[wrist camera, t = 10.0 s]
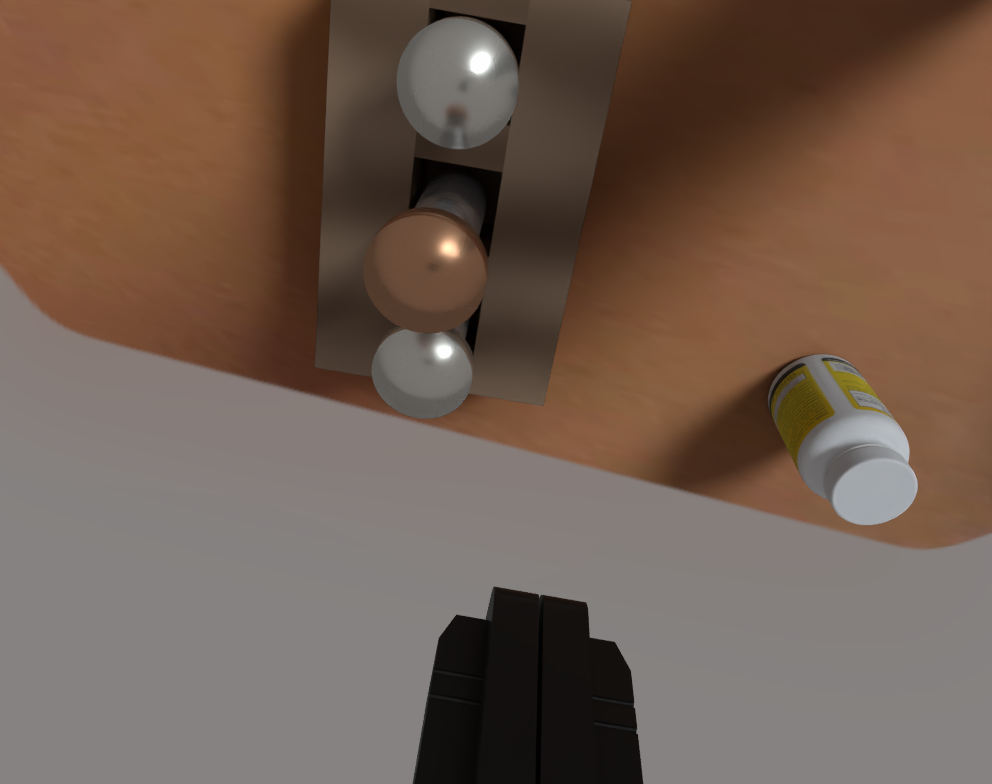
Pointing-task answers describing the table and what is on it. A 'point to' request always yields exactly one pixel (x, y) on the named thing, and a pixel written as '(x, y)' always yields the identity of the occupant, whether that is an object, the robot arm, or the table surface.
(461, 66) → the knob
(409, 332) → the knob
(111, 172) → the table surface
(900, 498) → the supplement bottle
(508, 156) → the mount
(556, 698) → the robot arm
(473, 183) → the copper and grey cylinder
